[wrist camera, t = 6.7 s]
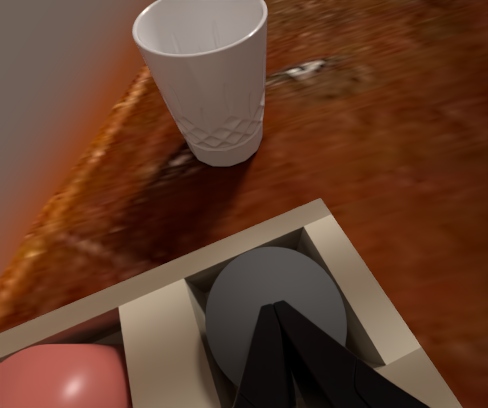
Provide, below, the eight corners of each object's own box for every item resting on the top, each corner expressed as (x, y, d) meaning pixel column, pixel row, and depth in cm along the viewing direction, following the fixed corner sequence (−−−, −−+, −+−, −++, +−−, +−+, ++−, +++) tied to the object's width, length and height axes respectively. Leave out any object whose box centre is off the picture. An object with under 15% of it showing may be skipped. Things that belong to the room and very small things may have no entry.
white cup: (286, 143, 22) (296, 15, 14) (210, 189, 21) (166, 76, 12) (237, 98, 26) (221, -27, 17) (169, 134, 24) (113, 16, 15)
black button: (342, 352, 12) (378, 358, 8) (247, 401, 11) (235, 432, 8) (293, 259, 14) (301, 227, 10) (211, 295, 14) (188, 277, 10)
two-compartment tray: (402, 406, 13) (491, 449, 8) (53, 599, 11) (-146, 835, 6) (305, 240, 18) (320, 198, 12) (50, 353, 16) (-60, 358, 10)
